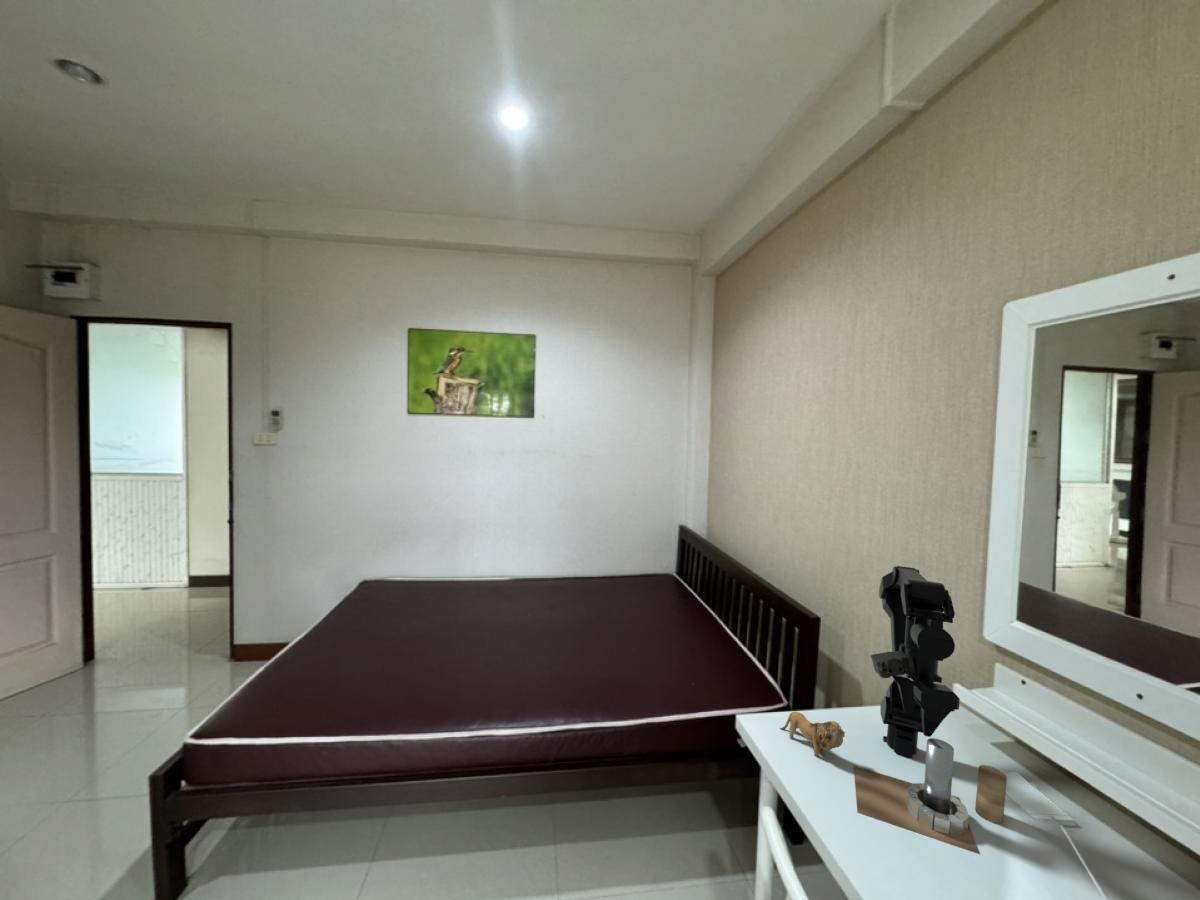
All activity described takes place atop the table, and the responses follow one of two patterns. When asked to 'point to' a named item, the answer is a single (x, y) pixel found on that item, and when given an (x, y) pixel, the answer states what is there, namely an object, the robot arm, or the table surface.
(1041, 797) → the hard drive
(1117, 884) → the table surface
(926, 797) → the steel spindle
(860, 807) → the walnut board
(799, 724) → the lion figurine
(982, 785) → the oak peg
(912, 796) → the grey stone ring
